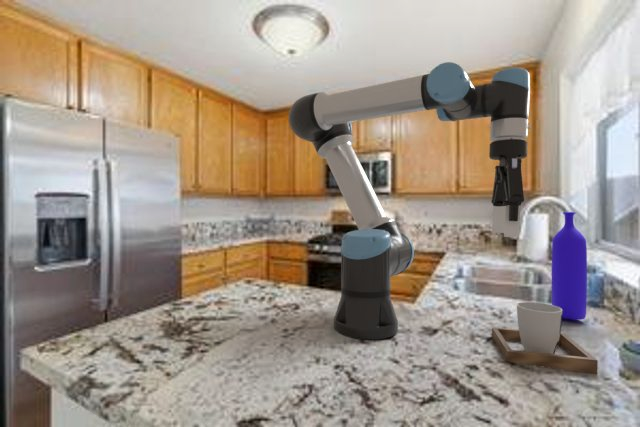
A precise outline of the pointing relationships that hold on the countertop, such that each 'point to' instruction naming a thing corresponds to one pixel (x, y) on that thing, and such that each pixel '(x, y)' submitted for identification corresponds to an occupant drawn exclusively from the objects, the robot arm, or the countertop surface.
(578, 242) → the bottle
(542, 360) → the tray
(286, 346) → the countertop surface
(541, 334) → the cup
